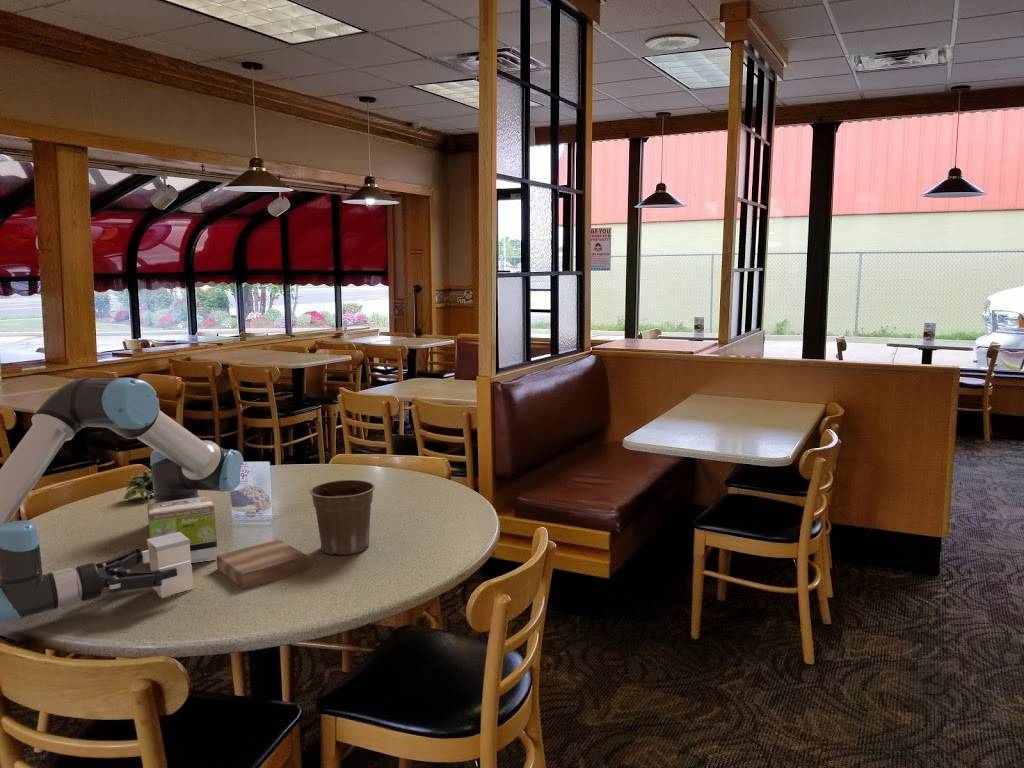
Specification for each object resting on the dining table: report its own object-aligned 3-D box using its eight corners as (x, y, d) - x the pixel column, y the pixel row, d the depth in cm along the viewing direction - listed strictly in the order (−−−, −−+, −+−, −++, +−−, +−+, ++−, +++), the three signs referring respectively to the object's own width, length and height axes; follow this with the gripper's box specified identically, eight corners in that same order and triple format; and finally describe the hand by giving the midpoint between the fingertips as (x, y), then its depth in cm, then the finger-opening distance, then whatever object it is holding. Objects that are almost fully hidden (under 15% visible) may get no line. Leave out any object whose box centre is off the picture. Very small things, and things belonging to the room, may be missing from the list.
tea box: (153, 572, 186) (147, 514, 184) (151, 559, 195) (145, 503, 192) (219, 560, 193) (214, 503, 190) (214, 548, 201) (209, 493, 199)
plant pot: (355, 532, 211) (352, 475, 208) (390, 546, 199) (387, 486, 197) (302, 548, 200) (298, 488, 197) (335, 564, 188) (331, 501, 186)
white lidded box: (151, 589, 176) (146, 539, 174) (184, 580, 181) (179, 531, 179) (161, 598, 171) (156, 547, 169) (194, 589, 175) (189, 539, 173)
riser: (217, 571, 187) (216, 555, 186) (279, 554, 197) (278, 539, 197) (244, 590, 175) (242, 573, 174) (308, 571, 185) (307, 555, 185)
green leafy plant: (152, 511, 251) (172, 479, 254) (151, 515, 241) (172, 480, 244) (119, 496, 247) (139, 463, 250) (117, 499, 237) (138, 464, 240)
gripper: (67, 583, 173) (166, 558, 186) (92, 620, 154) (200, 590, 167) (63, 551, 171) (163, 529, 185) (88, 585, 153) (197, 557, 166)
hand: (181, 558), depth 176 cm, fingers open, 13 cm apart
